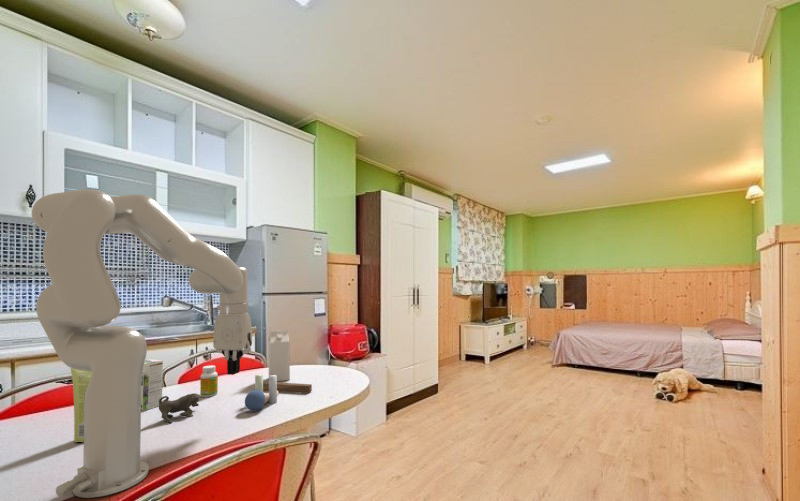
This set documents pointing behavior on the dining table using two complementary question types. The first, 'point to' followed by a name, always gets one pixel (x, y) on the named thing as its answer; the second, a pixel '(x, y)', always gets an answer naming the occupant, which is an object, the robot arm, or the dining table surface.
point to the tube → (79, 401)
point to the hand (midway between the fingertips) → (233, 373)
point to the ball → (255, 400)
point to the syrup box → (151, 384)
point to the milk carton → (279, 355)
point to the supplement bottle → (209, 382)
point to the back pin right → (272, 389)
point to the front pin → (268, 397)
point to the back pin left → (259, 382)
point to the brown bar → (290, 387)
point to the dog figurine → (178, 406)
